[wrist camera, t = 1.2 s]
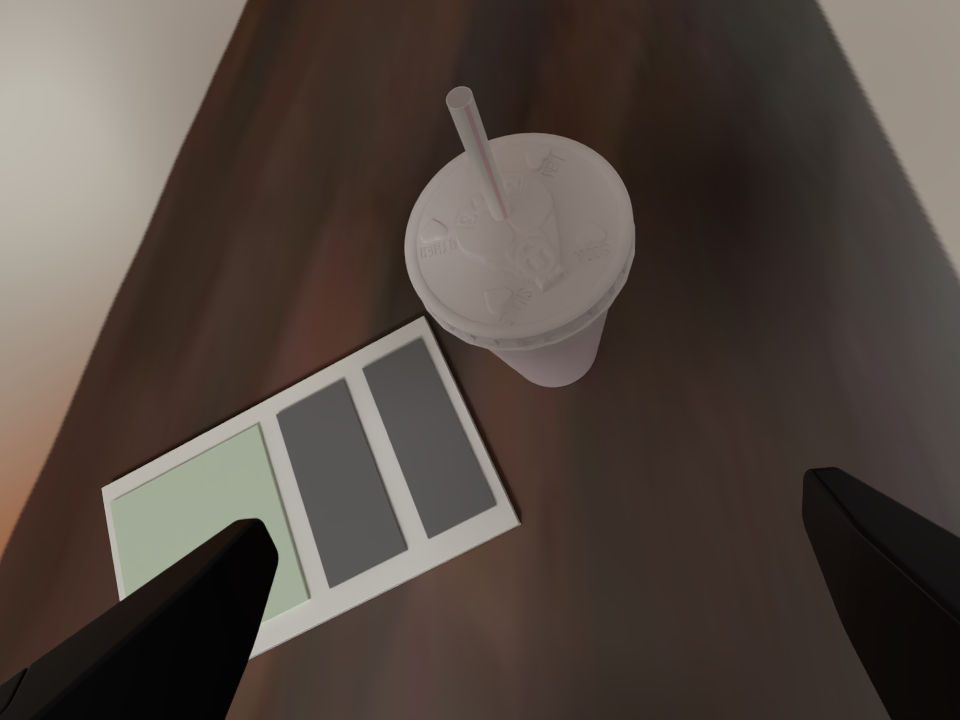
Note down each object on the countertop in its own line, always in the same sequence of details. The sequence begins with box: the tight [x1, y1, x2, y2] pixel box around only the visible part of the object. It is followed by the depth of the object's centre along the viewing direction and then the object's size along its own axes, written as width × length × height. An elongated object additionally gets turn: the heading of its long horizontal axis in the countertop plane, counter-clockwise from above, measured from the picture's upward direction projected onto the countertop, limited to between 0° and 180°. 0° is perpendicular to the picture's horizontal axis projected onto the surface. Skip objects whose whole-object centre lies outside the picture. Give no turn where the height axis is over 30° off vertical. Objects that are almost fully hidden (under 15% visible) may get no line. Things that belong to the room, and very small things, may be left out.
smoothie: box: [405, 87, 635, 387], centre depth 18 cm, size 6×6×14 cm
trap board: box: [102, 316, 521, 660], centre depth 24 cm, size 10×18×1 cm, turn 114°
